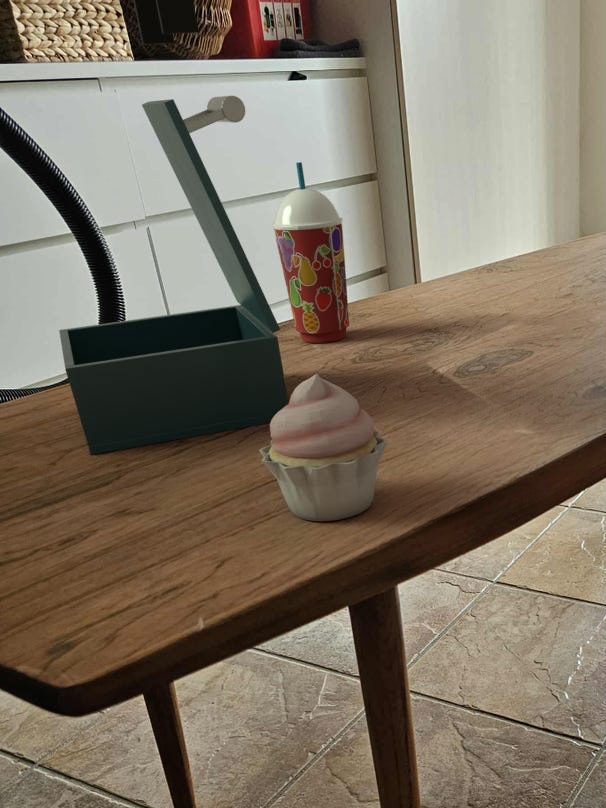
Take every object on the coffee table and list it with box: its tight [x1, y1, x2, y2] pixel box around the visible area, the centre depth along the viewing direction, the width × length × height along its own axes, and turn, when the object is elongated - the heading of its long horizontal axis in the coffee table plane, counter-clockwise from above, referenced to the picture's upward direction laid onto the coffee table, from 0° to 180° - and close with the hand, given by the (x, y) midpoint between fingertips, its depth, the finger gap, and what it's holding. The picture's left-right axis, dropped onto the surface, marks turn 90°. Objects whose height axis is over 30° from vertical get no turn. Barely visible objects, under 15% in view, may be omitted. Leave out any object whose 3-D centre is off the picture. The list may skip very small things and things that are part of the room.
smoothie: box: [271, 161, 350, 344], centre depth 110 cm, size 8×8×20 cm
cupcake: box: [258, 373, 388, 522], centre depth 66 cm, size 9×9×10 cm
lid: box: [141, 95, 281, 334], centre depth 85 cm, size 19×18×7 cm
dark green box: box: [59, 304, 290, 456], centre depth 89 cm, size 19×18×8 cm
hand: (168, 39), depth 76 cm, fingers open, 13 cm apart
